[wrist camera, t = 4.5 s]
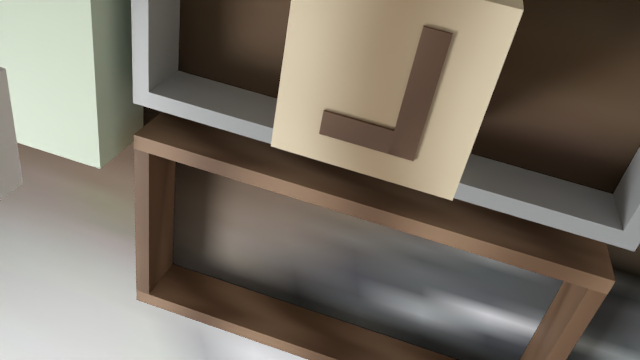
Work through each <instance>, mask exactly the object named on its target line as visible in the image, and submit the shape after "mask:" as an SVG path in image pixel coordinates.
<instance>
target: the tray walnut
mask: <svg viewBox="0 0 640 360" xmlns="http://www.w3.org/2000/svg"><path fill="white" fill-rule="evenodd" d="M176 162H179V163H182V164H185V165H189V166H192V167H195V168H198V169H202V170H205V171H208V172H211V173H215V174H218V175H221V176H224V177H227V178H231V179H234V180H237V181H240V182H244V183H247V184H250V185H253V186H257V187H260V188H263V189H266V190H270V191H273V192H276V193H279V194H283V195H286V196H289V197H292V198H296V199H299V200H302V201H305V202H309V203H312V204H315V205H318V206H322V207H325V208H328V209H331V210H335V211H338V212H341V213H344V214H348V215H351V216H354V217H357V218H360V219H364V220H367V221H370V222H373V223H377V224H380V225H383V226H386V227H390V228H393V229H396V230H399V231H403V232H406V233H409V234H412V235H416V236H419V237H422V238H425V239H429V240H432V241H435V242H438V243H442V244H445V245H448V246H451V247H455V248H458V249H461V250H464V251H468V252H471V253H474V254H477V255H481V256H484V257H487V258H490V259H493V260H497V261H500V262H503V263H506V264H510V265H513V266H516V267H519V268H523V269H526V270H529V271H532V272H536V273H539V274H542V275H545V276H549V277H552V278H555V279H558V280H562V281H564V282H563V284H562V285H561V287H560V289H559V291H558V293H557V294H556V296H555V298H554V300H553V301H552V303H551V305H550V307H549V309H548V310H547V312H546V314H545V316H544V317H543V319H542V321H541V323H540V325H539V326H538V328H537V330H536V332H535V333H534V335H533V337H532V339H531V341H530V342H529V344H528V346H527V348H526V349H525V351H524V353H523V355H522V357H521V358H520V360H566V359H567V357H568V356H569V354H570V353H571V351H572V349H573V348H574V346H575V345H576V343H577V342H578V340H579V338H580V337H581V335H582V334H583V332H584V331H585V329H586V327H587V326H588V324H589V323H590V321H591V319H592V318H593V316H594V315H595V313H596V312H597V310H598V308H599V307H600V305H601V304H602V302H603V301H604V299H605V297H606V296H607V294H608V293H609V291H610V289H611V288H612V286H613V285H614V283H615V282H616V281H615V277H614V273H613V269H612V264H611V260H610V256H609V252H608V248H607V244H606V243H604V242H600V241H597V240H594V239H590V238H587V237H584V236H580V235H577V234H573V233H570V232H567V231H563V230H560V229H557V228H553V227H550V226H546V225H543V224H540V223H536V222H533V221H530V220H526V219H523V218H519V217H516V216H513V215H509V214H506V213H503V212H499V211H496V210H492V209H489V208H486V207H482V206H479V205H475V204H472V203H469V202H465V201H462V200H459V199H455V198H453V201H452V200H448V199H445V198H442V197H438V196H435V195H432V194H428V193H425V192H422V191H418V190H415V189H412V188H408V187H405V186H402V185H398V184H395V183H392V182H388V181H385V180H382V179H378V178H375V177H372V176H368V175H365V174H362V173H358V172H355V171H352V170H348V169H345V168H342V167H338V166H335V165H332V164H328V163H325V162H322V161H318V160H315V159H312V158H308V157H305V156H302V155H298V154H295V153H292V152H288V151H285V150H281V149H278V148H275V147H271V144H269V143H266V142H263V141H259V140H256V139H253V138H249V137H246V136H242V135H239V134H236V133H232V132H229V131H226V130H222V129H219V128H215V127H212V126H209V125H205V124H202V123H199V122H195V121H192V120H188V119H185V118H182V117H178V116H175V115H172V114H168V113H165V112H161V113H160V114H158V115H157V116H156V117H155V118H154V119H152V120H151V121H150V122H149V123H147V124H146V125H145V126H144V127H142V128H141V129H140V130H139V131H138V132H136V133H135V134H134V181H135V234H136V287H137V300H139V301H142V302H145V303H147V304H150V305H153V306H156V307H159V308H162V309H165V310H168V311H170V312H173V313H176V314H179V315H182V316H185V317H188V318H190V319H193V320H196V321H199V322H202V323H205V324H208V325H211V326H213V327H216V328H219V329H222V330H225V331H228V332H231V333H234V334H236V335H239V336H242V337H245V338H248V339H251V340H254V341H256V342H259V343H262V344H265V345H268V346H271V347H274V348H277V349H279V350H282V351H285V352H288V353H291V354H294V355H297V356H300V357H302V358H305V359H308V360H457V359H454V358H451V357H448V356H445V355H442V354H439V353H436V352H433V351H430V350H427V349H424V348H421V347H418V346H415V345H412V344H409V343H406V342H403V341H400V340H397V339H394V338H391V337H388V336H385V335H382V334H379V333H376V332H373V331H370V330H367V329H364V328H362V327H359V326H356V325H353V324H350V323H347V322H344V321H341V320H338V319H335V318H332V317H329V316H326V315H323V314H320V313H317V312H314V311H311V310H308V309H305V308H302V307H299V306H296V305H293V304H290V303H287V302H284V301H281V300H278V299H275V298H272V297H269V296H266V295H263V294H260V293H257V292H254V291H251V290H248V289H245V288H242V287H239V286H236V285H233V284H230V283H227V282H225V281H222V280H219V279H216V278H213V277H210V276H207V275H204V274H201V273H198V272H195V271H192V270H189V269H186V268H183V267H180V266H177V265H174V264H173V231H174V197H175V163H176Z"/></svg>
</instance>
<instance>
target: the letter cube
mask: <svg viewBox="0 0 640 360" xmlns="http://www.w3.org/2000/svg"><path fill="white" fill-rule="evenodd" d="M523 11H524V8H523V0H291V6H290V13H289V20H288V28H287V35H286V42H285V49H284V56H283V63H282V70H281V77H280V84H279V91H278V98H277V105H276V112H275V119H274V126H273V133H272V141H271V147H275V148H278V149H281V150H285V151H288V152H292V153H295V154H298V155H302V156H305V157H308V158H312V159H315V160H318V161H322V162H325V163H328V164H332V165H335V166H338V167H342V168H345V169H348V170H352V171H355V172H358V173H362V174H365V175H368V176H372V177H375V178H378V179H382V180H385V181H388V182H392V183H395V184H398V185H402V186H405V187H408V188H412V189H415V190H418V191H422V192H425V193H428V194H432V195H435V196H438V197H442V198H445V199H448V200H452V201H453V198H454V195H455V193H456V190H457V187H458V185H459V182H460V179H461V177H462V174H463V171H464V169H465V166H466V163H467V161H468V158H469V155H470V153H471V150H472V147H473V144H474V142H475V139H476V136H477V134H478V131H479V128H480V126H481V123H482V120H483V118H484V115H485V112H486V110H487V107H488V104H489V102H490V99H491V96H492V94H493V91H494V88H495V86H496V83H497V82H498V79H499V76H500V74H501V71H502V68H503V65H504V63H505V60H506V57H507V53H508V51H509V48H510V45H511V43H512V40H513V37H514V35H515V32H516V29H517V27H518V24H519V21H520V19H521V16H522V13H523Z"/></svg>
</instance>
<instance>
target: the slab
mask: <svg viewBox="0 0 640 360" xmlns="http://www.w3.org/2000/svg"><path fill="white" fill-rule="evenodd" d="M0 67H2V68H5V69H6V73H7V80H8V87H9V93H10V100H11V106H12V113H13V119H14V126H15V133H16V139H17V143H21V144H24V145H27V146H30V147H33V148H36V149H39V150H43V151H46V152H49V153H52V154H55V155H58V156H62V157H65V158H68V159H71V160H74V161H77V162H81V163H84V164H87V165H90V166H93V167H96V168H99V169H101V168H102V167H103V166H104V165H105V164H107V163H108V162H109V161H110V160H111V159H113V158H114V157H115V156H116V155H118V154H119V153H120V152H121V151H122V150H124V149H125V148H126V147H127V146H128V145H130V144H131V143H132V142H133V141H134V134H135V133H136V132H138V131H139V130H140V129H141V128H142V127H143V106H141V105H138V104H134V103H133V75H132V22H131V0H0Z"/></svg>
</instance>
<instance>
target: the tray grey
mask: <svg viewBox="0 0 640 360" xmlns="http://www.w3.org/2000/svg"><path fill="white" fill-rule="evenodd" d="M131 22H132V75H133V103H134V104H138V105H141V106H145V107H148V108H151V109H155V110H158V111H161V112H165V113H168V114H172V115H175V116H178V117H182V118H185V119H188V120H192V121H195V122H199V123H202V124H205V125H209V126H212V127H215V128H219V129H222V130H226V131H229V132H232V133H236V134H239V135H242V136H246V137H249V138H253V139H256V140H259V141H263V142H266V143H269V144H271V141H272V133H273V126H274V119H275V112H276V105H277V99H276V98H273V97H269V96H266V95H262V94H259V93H255V92H252V91H248V90H245V89H241V88H238V87H234V86H231V85H227V84H224V83H220V82H217V81H213V80H210V79H206V78H202V77H199V76H195V75H192V74H188V73H185V72H181V71H178V62H179V28H180V0H131ZM454 198H455V199H459V200H462V201H465V202H469V203H472V204H475V205H479V206H482V207H486V208H489V209H492V210H496V211H499V212H503V213H506V214H509V215H513V216H516V217H519V218H523V219H526V220H530V221H533V222H536V223H540V224H543V225H546V226H550V227H553V228H557V229H560V230H563V231H567V232H570V233H573V234H577V235H580V236H584V237H587V238H590V239H594V240H597V241H600V242H604V243H607V244H611V245H614V246H617V247H621V248H624V249H627V250H631V251H634V252H635V250H636V248H637V247H638V245H639V244H640V147H639V149H638V150H637V152H636V154H635V156H634V157H633V159H632V161H631V163H630V165H629V166H628V168H627V170H626V172H625V173H624V175H623V177H622V179H621V181H620V182H619V184H618V186H617V188H616V189H615V191H614V193H613V194H611V193H607V192H604V191H600V190H597V189H593V188H590V187H586V186H583V185H579V184H576V183H572V182H569V181H565V180H562V179H558V178H555V177H551V176H548V175H544V174H541V173H537V172H534V171H530V170H526V169H523V168H519V167H516V166H512V165H509V164H505V163H502V162H498V161H495V160H491V159H488V158H484V157H481V156H477V155H474V154H470V155H469V158H468V161H467V163H466V166H465V169H464V171H463V174H462V177H461V179H460V182H459V185H458V187H457V190H456V193H455V195H454Z"/></svg>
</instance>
